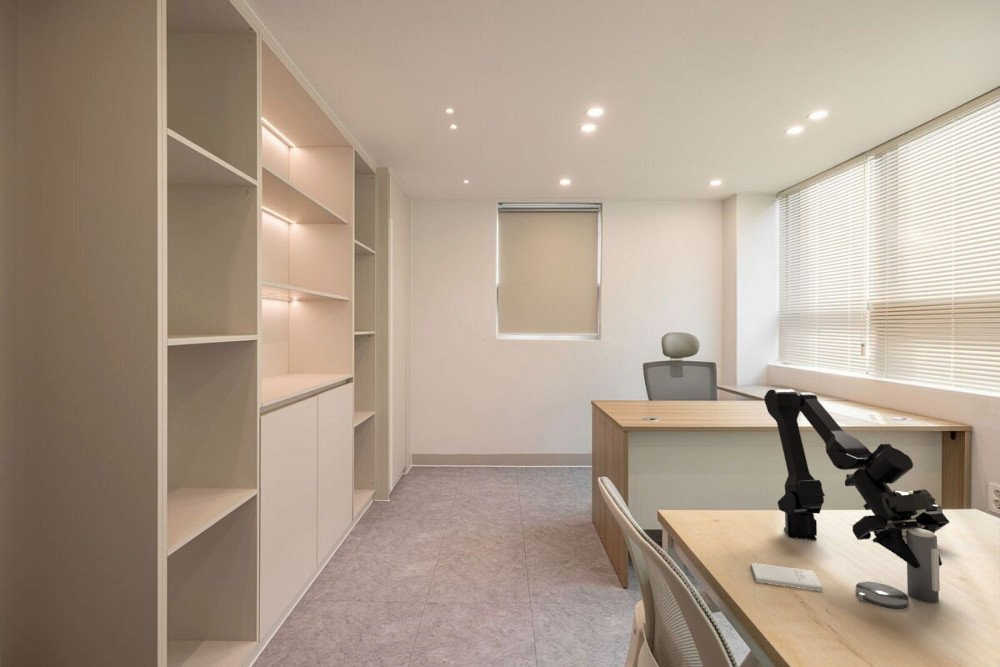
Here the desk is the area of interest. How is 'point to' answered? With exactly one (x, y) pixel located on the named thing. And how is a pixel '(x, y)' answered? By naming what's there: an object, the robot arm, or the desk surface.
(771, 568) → the external hard drive
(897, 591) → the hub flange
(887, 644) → the desk surface
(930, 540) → the dark gray cylinder
